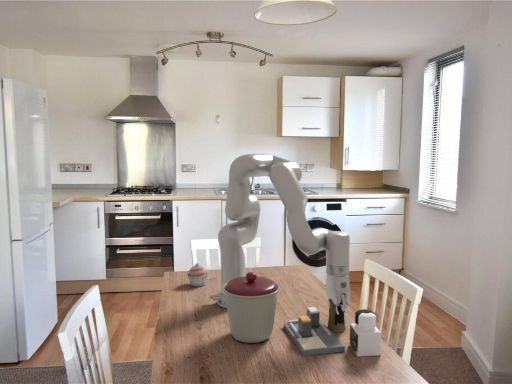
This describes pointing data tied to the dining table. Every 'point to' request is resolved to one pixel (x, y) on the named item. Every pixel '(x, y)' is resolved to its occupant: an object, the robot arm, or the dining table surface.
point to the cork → (332, 319)
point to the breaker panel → (314, 339)
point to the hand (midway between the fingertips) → (336, 321)
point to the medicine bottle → (365, 334)
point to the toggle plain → (313, 316)
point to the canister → (251, 307)
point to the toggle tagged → (304, 326)
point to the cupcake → (197, 275)
